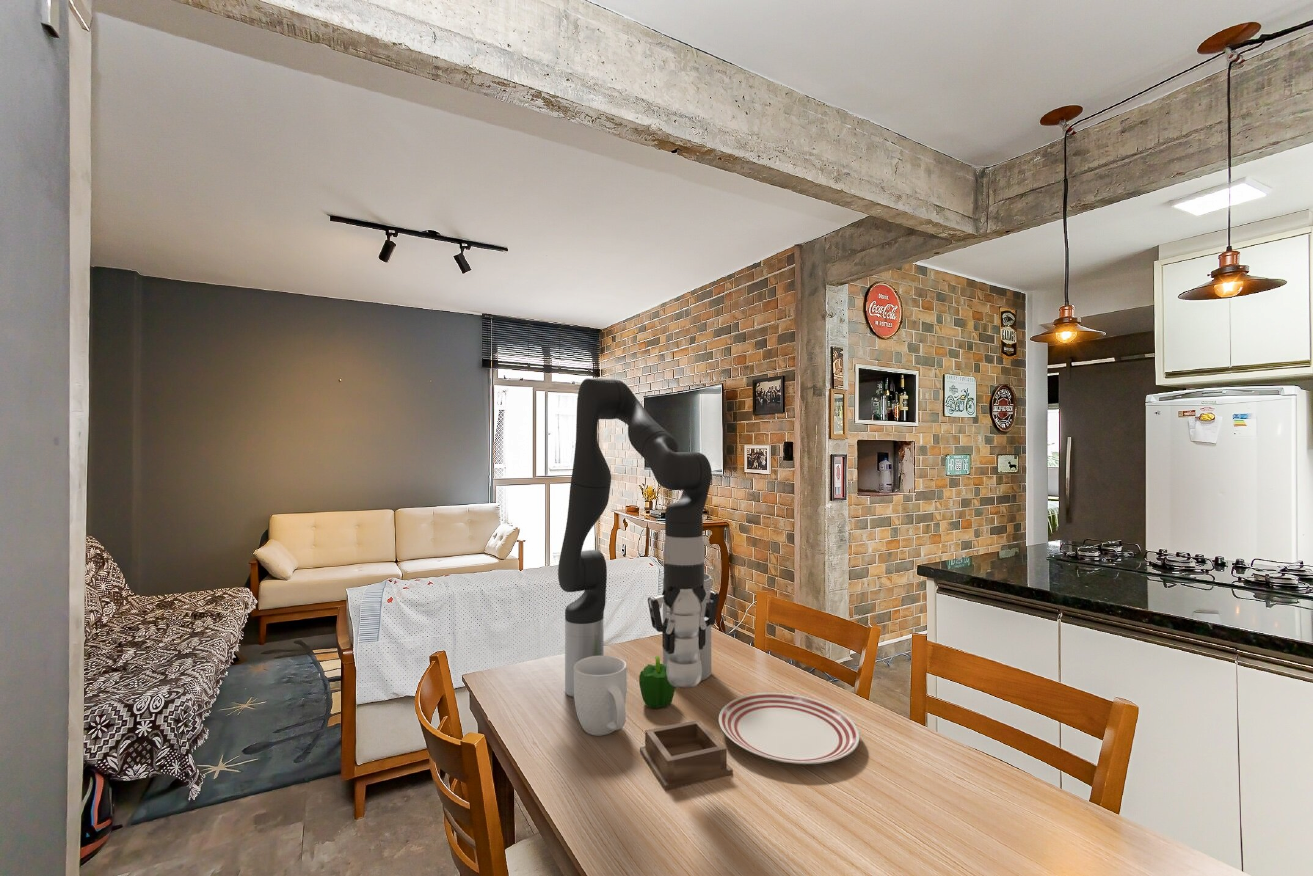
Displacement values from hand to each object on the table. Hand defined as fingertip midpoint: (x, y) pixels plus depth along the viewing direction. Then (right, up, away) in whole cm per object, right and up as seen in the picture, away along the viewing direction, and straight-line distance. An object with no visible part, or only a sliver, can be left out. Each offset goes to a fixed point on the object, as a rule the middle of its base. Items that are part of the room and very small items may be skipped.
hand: (684, 650), depth 104 cm
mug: (-16, -21, +12) cm, 29 cm away
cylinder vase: (+3, -22, +40) cm, 46 cm away
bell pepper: (-5, -21, +23) cm, 32 cm away
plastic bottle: (0, -7, 0) cm, 7 cm away
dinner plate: (+21, -21, +9) cm, 31 cm away
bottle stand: (0, -21, 0) cm, 21 cm away
